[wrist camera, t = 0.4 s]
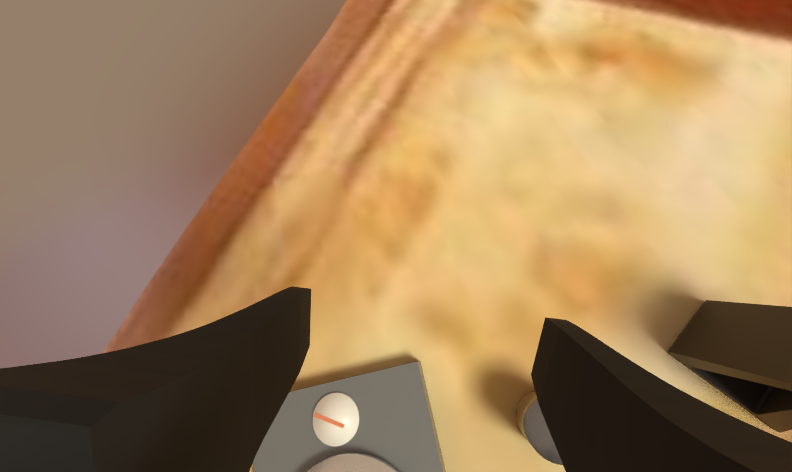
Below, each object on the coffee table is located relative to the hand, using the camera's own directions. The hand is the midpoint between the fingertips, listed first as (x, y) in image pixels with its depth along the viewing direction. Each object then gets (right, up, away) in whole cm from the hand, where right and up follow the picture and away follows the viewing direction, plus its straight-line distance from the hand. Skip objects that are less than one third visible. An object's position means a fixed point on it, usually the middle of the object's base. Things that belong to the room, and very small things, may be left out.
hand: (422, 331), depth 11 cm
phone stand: (+28, -8, +20) cm, 36 cm away
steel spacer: (+12, -13, +21) cm, 28 cm away
